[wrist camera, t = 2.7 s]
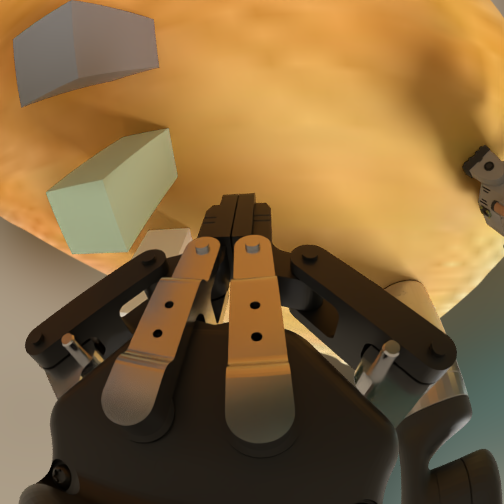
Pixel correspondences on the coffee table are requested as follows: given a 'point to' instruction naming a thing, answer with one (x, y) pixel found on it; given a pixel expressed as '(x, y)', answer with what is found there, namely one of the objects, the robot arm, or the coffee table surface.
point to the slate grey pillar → (81, 49)
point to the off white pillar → (163, 240)
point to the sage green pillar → (114, 193)
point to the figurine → (489, 185)
